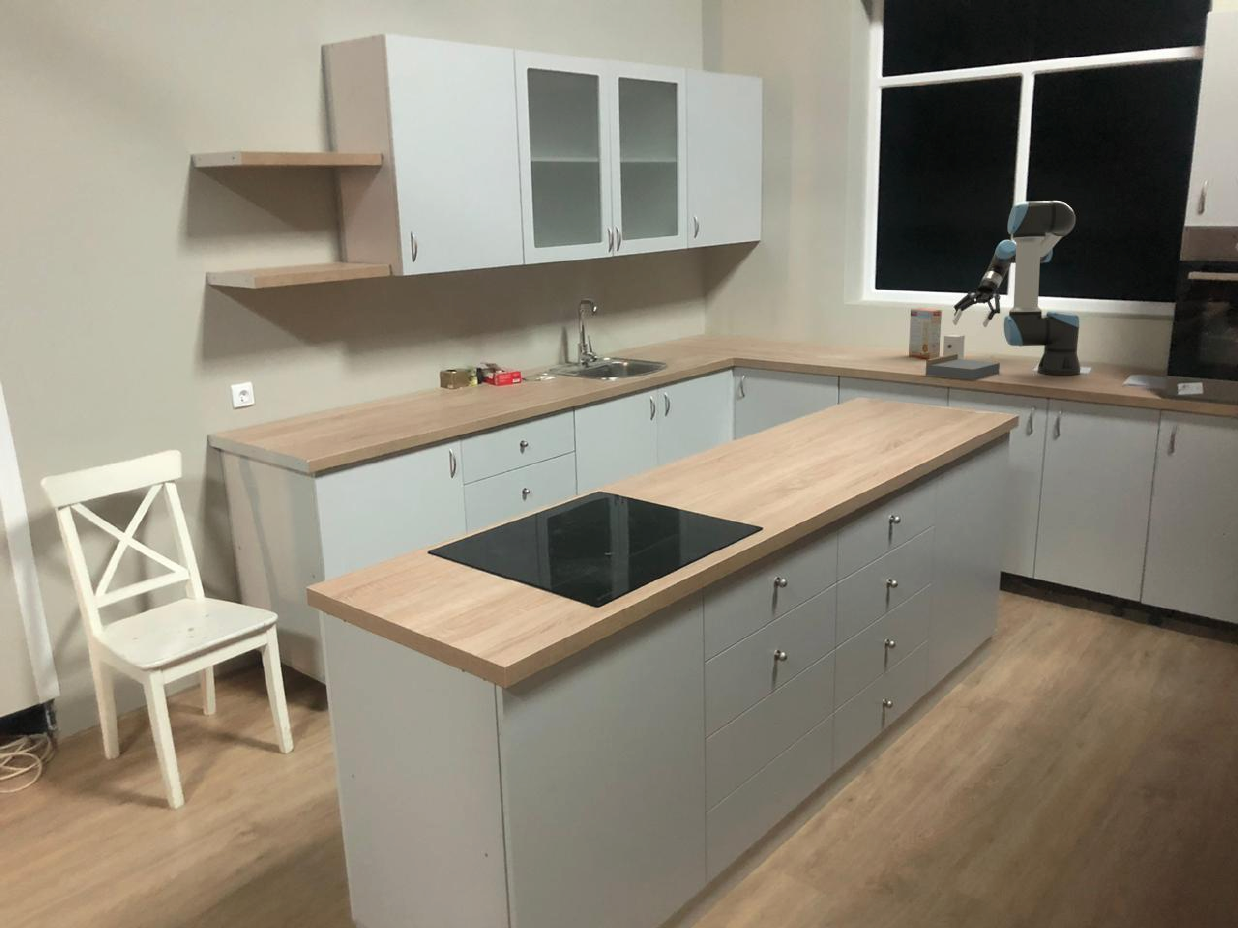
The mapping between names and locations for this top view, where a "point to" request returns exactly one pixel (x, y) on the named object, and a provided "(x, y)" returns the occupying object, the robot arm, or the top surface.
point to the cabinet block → (954, 345)
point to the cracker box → (925, 333)
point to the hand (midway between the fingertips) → (969, 324)
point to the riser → (960, 367)
